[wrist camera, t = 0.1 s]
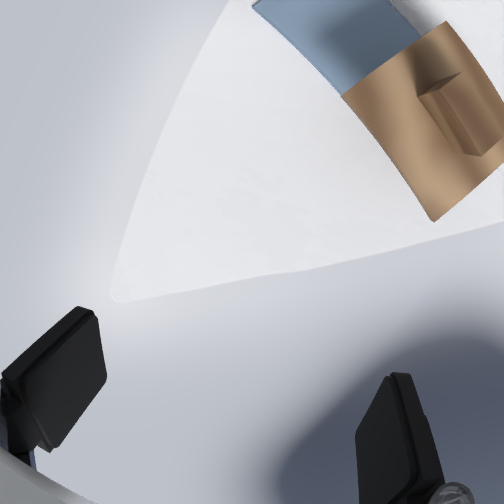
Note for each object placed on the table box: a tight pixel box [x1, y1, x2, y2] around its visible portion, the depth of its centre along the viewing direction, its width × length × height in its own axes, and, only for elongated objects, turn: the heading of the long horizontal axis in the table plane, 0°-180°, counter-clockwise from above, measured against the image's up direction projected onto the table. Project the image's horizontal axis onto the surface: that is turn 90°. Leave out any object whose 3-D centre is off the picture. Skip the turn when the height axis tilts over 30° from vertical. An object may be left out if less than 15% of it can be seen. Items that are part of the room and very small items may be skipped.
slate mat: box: [252, 0, 421, 95], centre depth 29 cm, size 14×16×1 cm
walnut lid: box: [341, 21, 504, 222], centre depth 20 cm, size 14×14×6 cm
